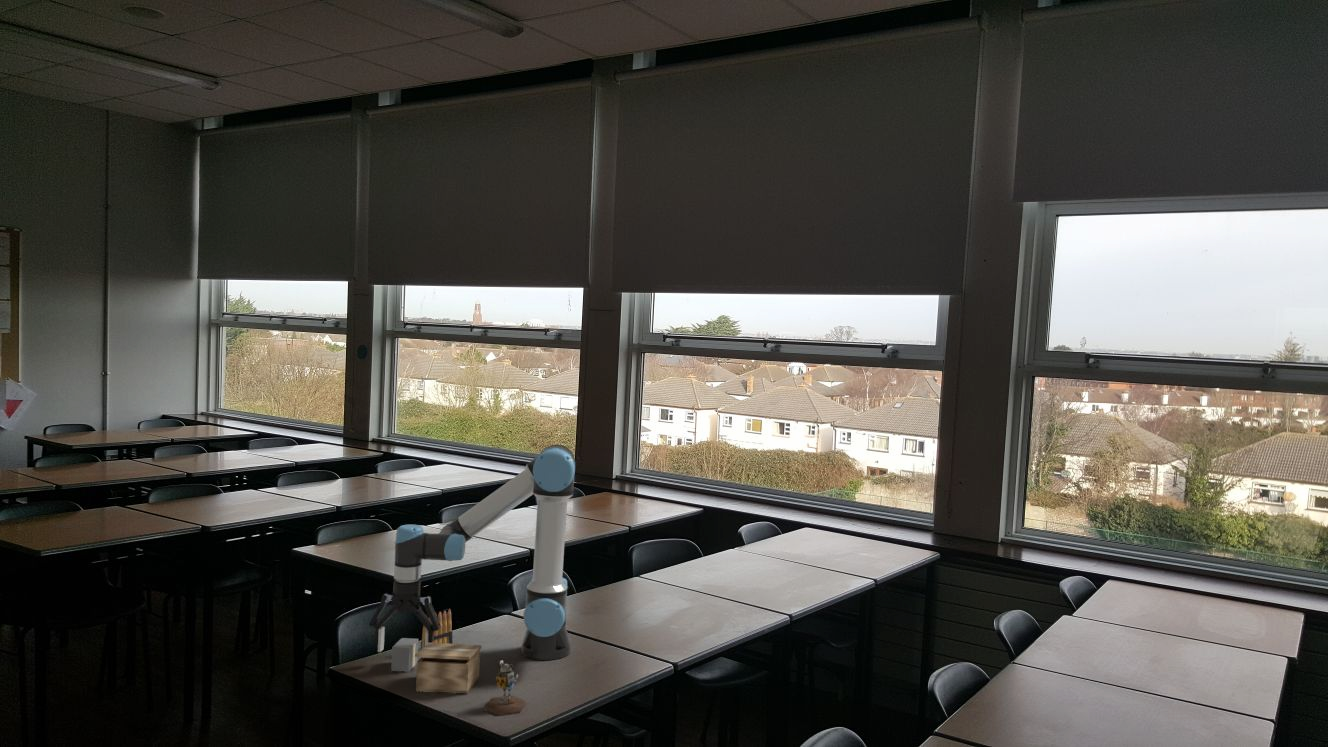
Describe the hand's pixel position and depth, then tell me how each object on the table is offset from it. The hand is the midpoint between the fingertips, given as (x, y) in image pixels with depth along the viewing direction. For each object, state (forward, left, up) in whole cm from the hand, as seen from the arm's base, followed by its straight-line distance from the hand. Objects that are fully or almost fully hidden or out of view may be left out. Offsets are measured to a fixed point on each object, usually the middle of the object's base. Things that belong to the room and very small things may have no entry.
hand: (403, 652), depth 246 cm
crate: (-16, +11, -4) cm, 20 cm away
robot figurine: (-35, +24, -5) cm, 43 cm away
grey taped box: (0, 0, -4) cm, 4 cm away
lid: (-16, +11, +5) cm, 20 cm away
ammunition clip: (-5, -14, -5) cm, 16 cm away
